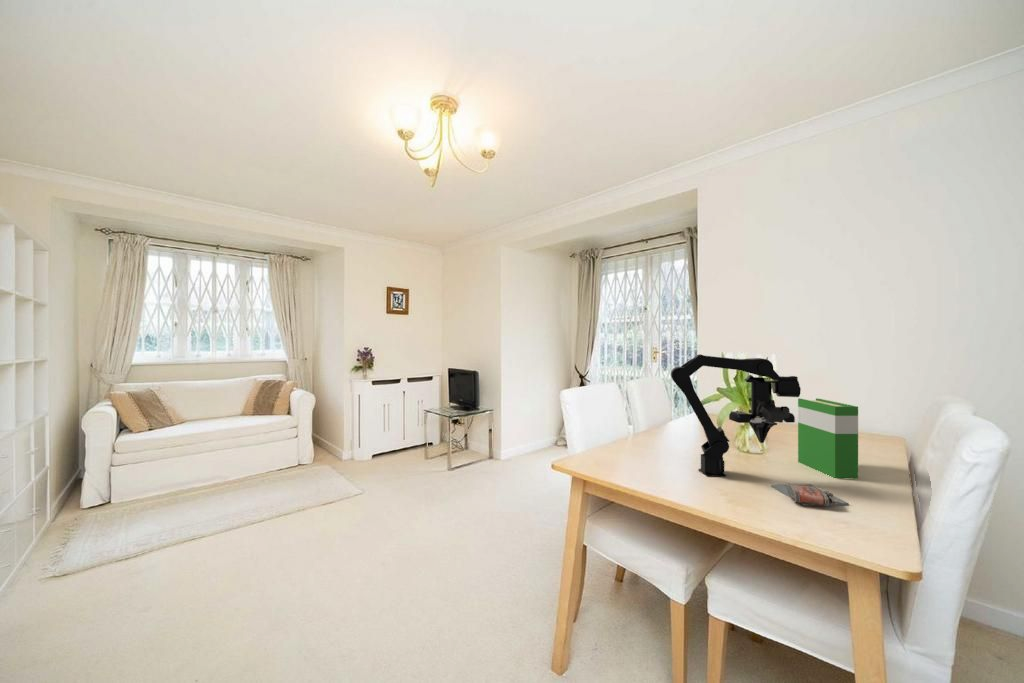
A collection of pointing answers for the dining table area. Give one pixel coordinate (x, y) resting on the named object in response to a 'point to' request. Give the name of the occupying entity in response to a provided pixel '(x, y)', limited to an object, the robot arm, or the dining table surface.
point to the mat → (783, 487)
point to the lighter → (810, 495)
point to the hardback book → (828, 437)
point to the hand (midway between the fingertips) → (761, 442)
